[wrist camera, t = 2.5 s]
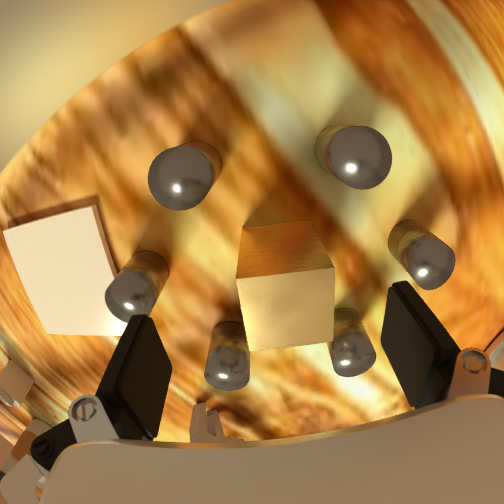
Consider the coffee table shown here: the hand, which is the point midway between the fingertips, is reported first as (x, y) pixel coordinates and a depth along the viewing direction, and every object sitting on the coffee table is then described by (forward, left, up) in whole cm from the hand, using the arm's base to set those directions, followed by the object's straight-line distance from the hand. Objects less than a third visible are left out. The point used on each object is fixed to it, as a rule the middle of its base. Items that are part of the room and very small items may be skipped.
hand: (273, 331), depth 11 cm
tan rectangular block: (-1, 0, -8) cm, 8 cm away
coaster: (+15, 0, -8) cm, 17 cm away
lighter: (+32, +11, -8) cm, 35 cm away
